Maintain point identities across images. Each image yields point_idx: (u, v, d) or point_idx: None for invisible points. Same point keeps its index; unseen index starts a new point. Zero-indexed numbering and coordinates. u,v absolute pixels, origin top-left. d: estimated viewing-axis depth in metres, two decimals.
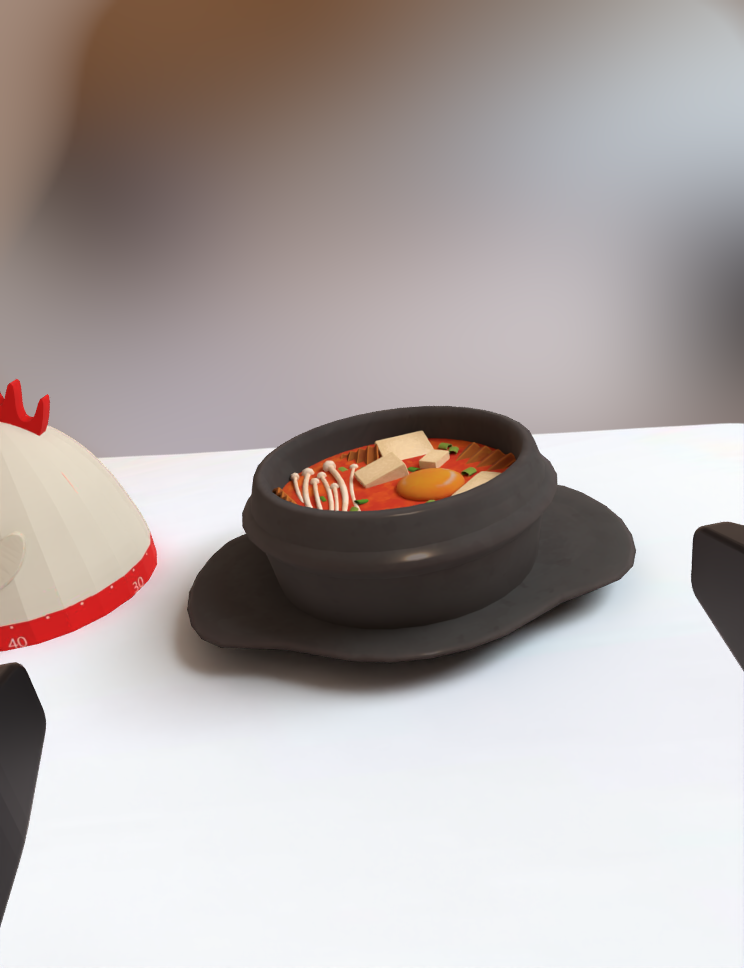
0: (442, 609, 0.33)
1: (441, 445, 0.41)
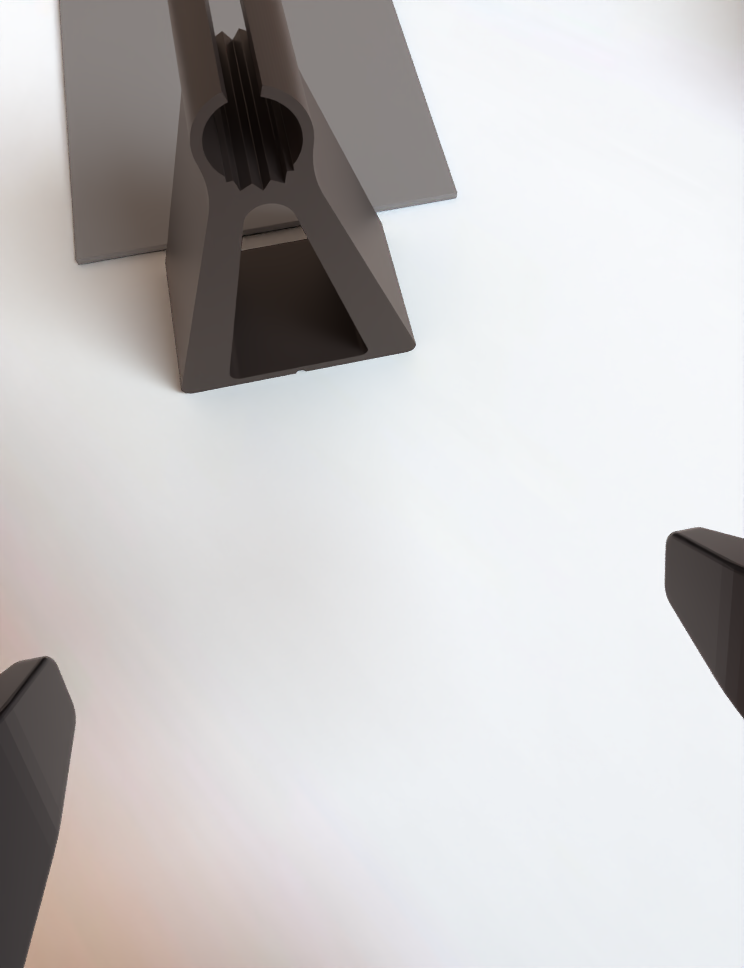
0: None
1: None
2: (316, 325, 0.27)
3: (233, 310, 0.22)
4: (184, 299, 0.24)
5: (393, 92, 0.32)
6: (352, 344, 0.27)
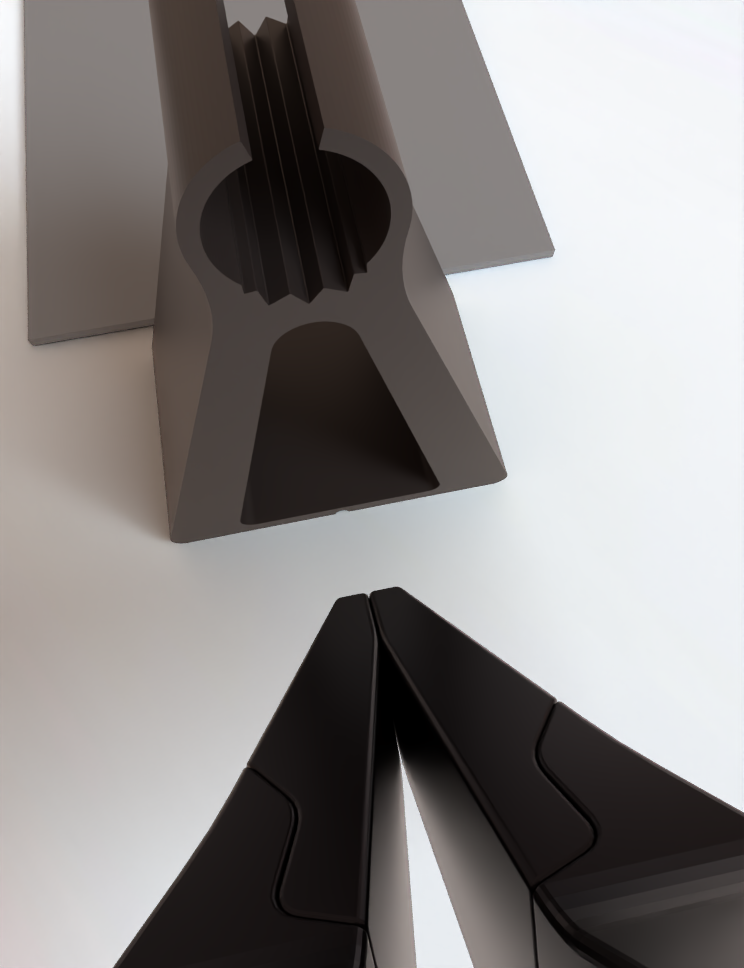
0: None
1: None
2: (363, 442, 0.19)
3: (249, 456, 0.14)
4: (174, 426, 0.16)
5: (462, 109, 0.24)
6: (416, 473, 0.19)
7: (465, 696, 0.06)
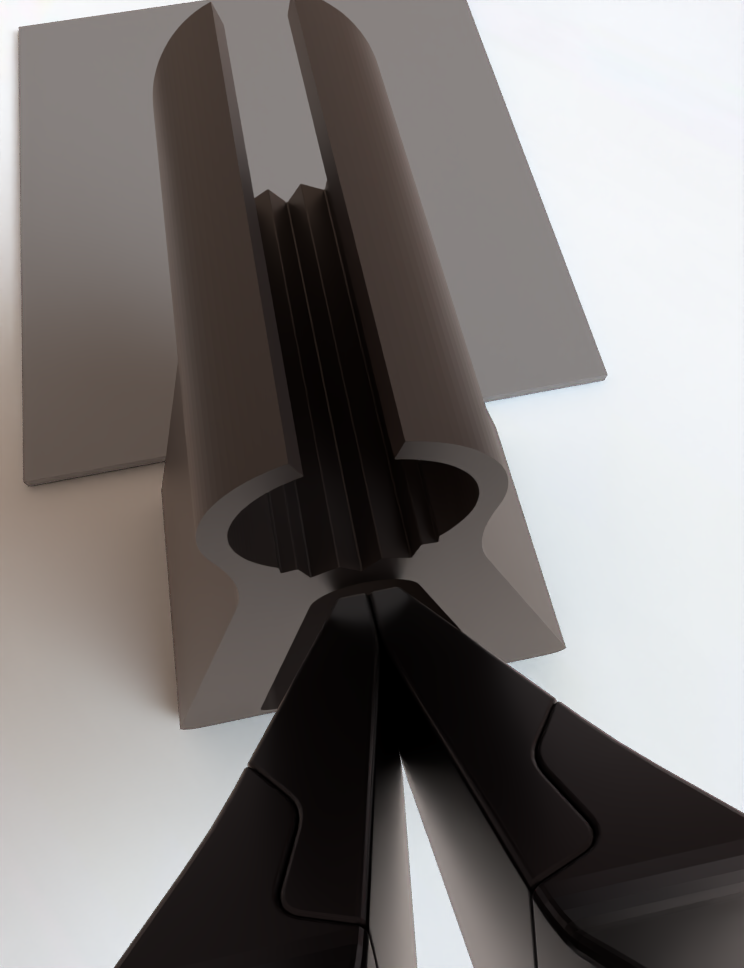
0: None
1: None
2: None
3: (275, 672, 0.12)
4: (186, 619, 0.14)
5: (500, 207, 0.22)
6: None
7: (465, 696, 0.06)
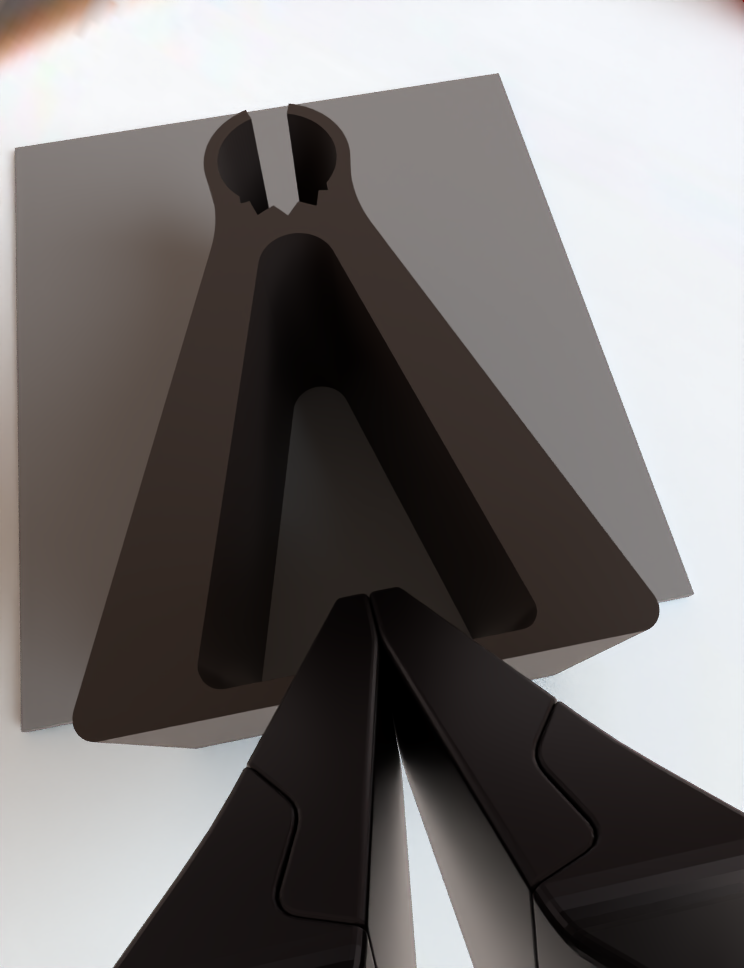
0: None
1: None
2: None
3: (227, 441, 0.12)
4: None
5: (563, 376, 0.19)
6: None
7: (465, 696, 0.06)
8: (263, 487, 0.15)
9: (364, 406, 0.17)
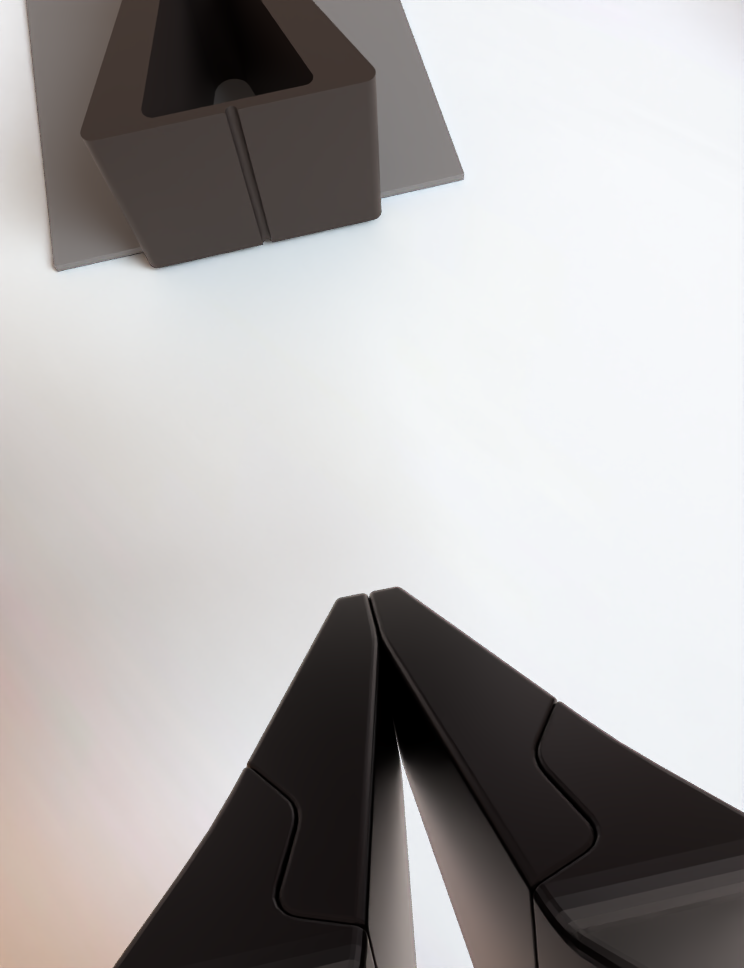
0: None
1: None
2: None
3: (154, 19, 0.22)
4: None
5: (390, 63, 0.29)
6: None
7: (465, 696, 0.06)
8: (187, 97, 0.25)
9: (253, 67, 0.27)
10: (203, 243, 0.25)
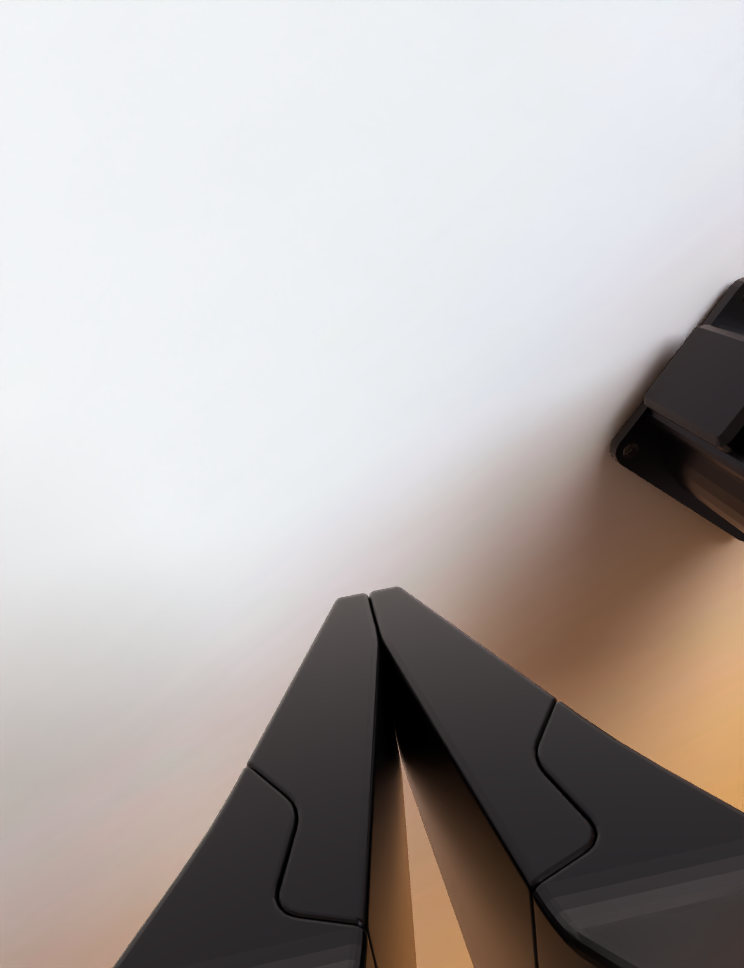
0: None
1: None
2: None
3: None
4: None
5: None
6: None
7: (465, 696, 0.06)
8: None
9: None
10: None
